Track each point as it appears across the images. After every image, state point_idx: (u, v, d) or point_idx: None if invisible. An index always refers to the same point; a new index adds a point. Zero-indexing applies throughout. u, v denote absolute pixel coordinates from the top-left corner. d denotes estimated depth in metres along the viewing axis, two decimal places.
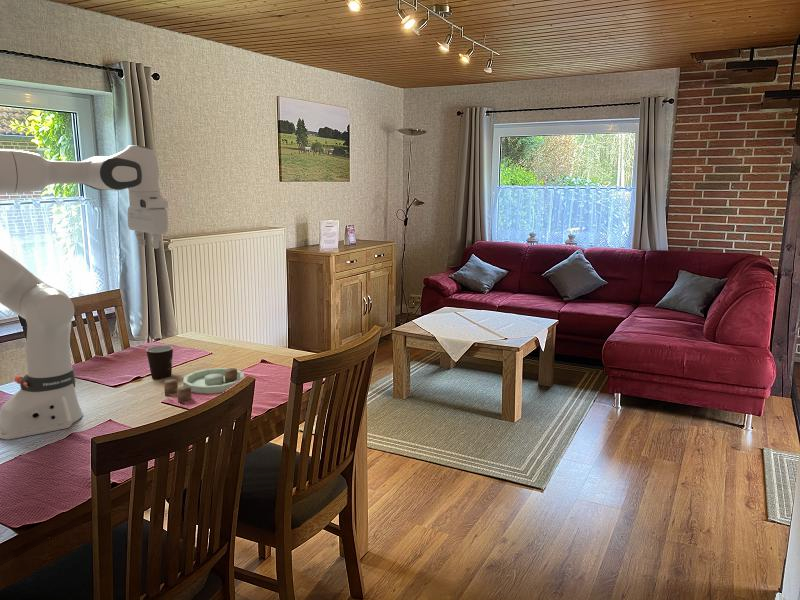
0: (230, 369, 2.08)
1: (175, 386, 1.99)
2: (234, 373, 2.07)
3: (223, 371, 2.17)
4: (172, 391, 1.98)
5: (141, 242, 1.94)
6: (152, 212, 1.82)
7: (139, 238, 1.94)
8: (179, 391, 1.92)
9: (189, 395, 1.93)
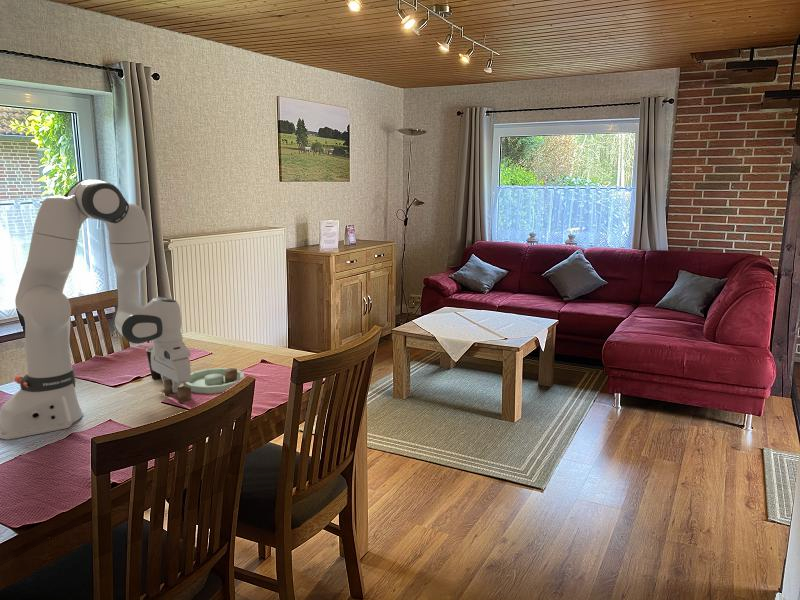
0: (230, 369, 2.08)
1: None
2: (234, 373, 2.07)
3: (223, 371, 2.17)
4: None
5: None
6: (176, 364, 1.90)
7: None
8: (179, 391, 1.92)
9: (189, 395, 1.93)
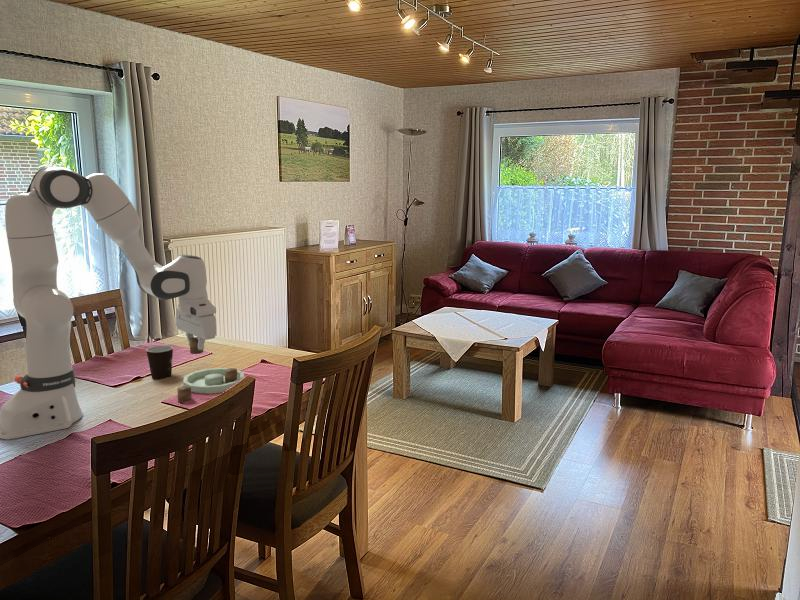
0: (230, 369, 2.08)
1: None
2: (234, 373, 2.07)
3: (223, 371, 2.17)
4: None
5: None
6: (202, 320, 1.92)
7: None
8: (179, 391, 1.92)
9: (189, 395, 1.93)
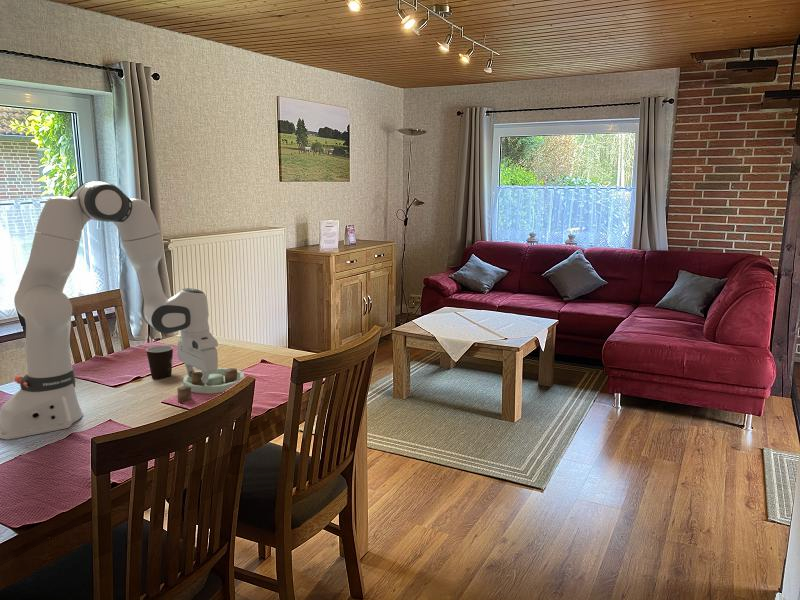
0: (230, 369, 2.08)
1: None
2: (234, 373, 2.07)
3: (223, 371, 2.17)
4: (199, 383, 2.02)
5: (191, 373, 2.06)
6: (204, 353, 1.94)
7: (189, 369, 2.06)
8: (179, 391, 1.92)
9: (189, 395, 1.93)
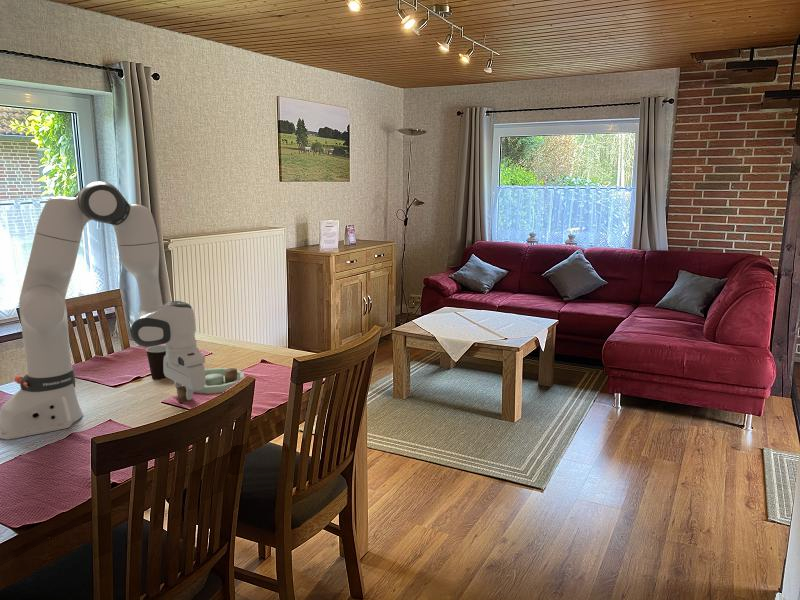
0: (230, 369, 2.08)
1: None
2: (234, 373, 2.07)
3: (223, 371, 2.17)
4: None
5: None
6: (190, 371, 1.84)
7: None
8: (179, 391, 1.92)
9: None
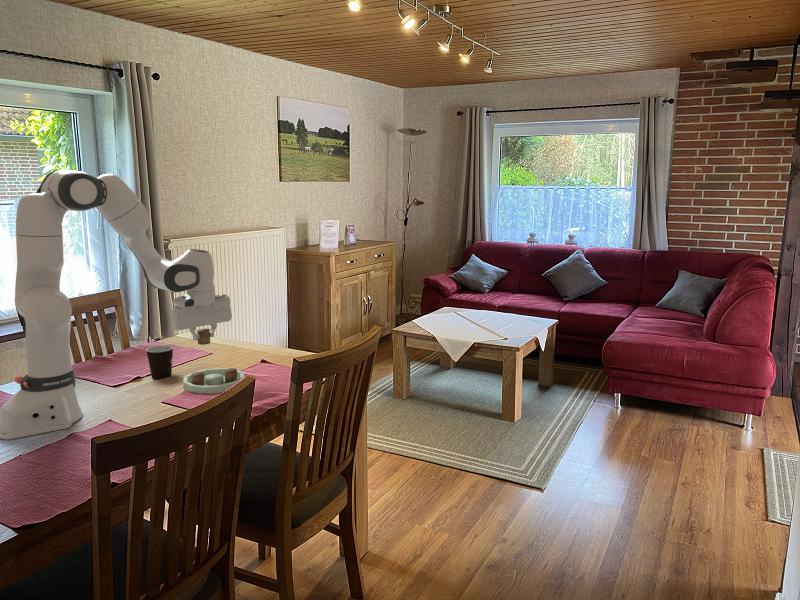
0: (230, 369, 2.08)
1: (202, 378, 2.03)
2: (234, 373, 2.07)
3: (223, 371, 2.17)
4: (199, 383, 2.02)
5: None
6: (172, 309, 2.02)
7: (210, 330, 2.11)
8: None
9: (199, 337, 2.07)
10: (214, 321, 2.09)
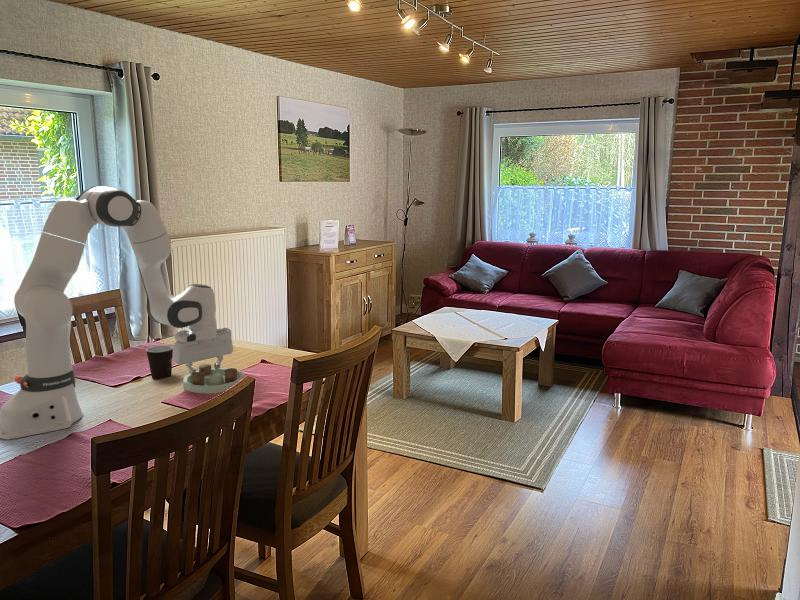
0: (230, 369, 2.08)
1: (202, 378, 2.03)
2: (234, 373, 2.07)
3: (223, 371, 2.17)
4: (199, 383, 2.02)
5: (214, 366, 2.15)
6: None
7: (217, 362, 2.15)
8: None
9: None
10: (216, 354, 2.12)
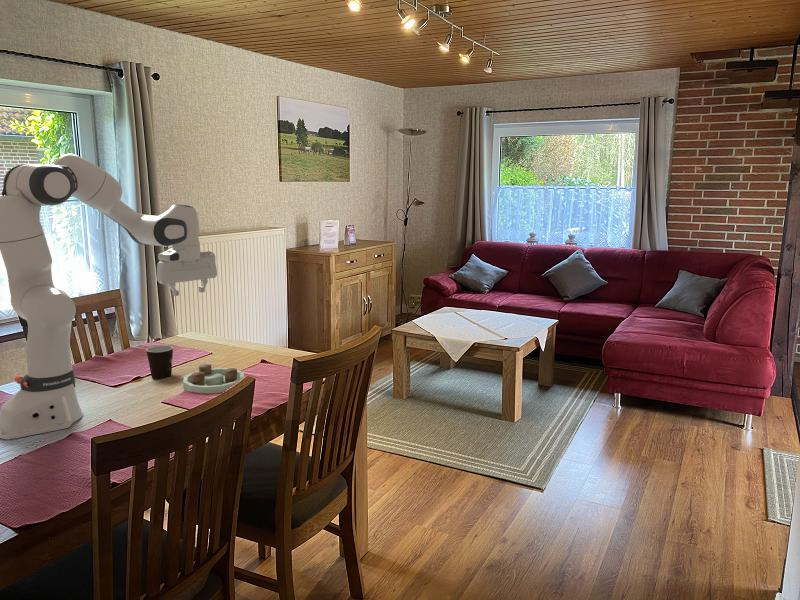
0: (230, 369, 2.08)
1: (202, 378, 2.03)
2: (234, 373, 2.07)
3: (223, 371, 2.17)
4: (199, 383, 2.02)
5: (199, 289, 2.15)
6: None
7: (201, 285, 2.16)
8: None
9: None
10: (199, 277, 2.12)
